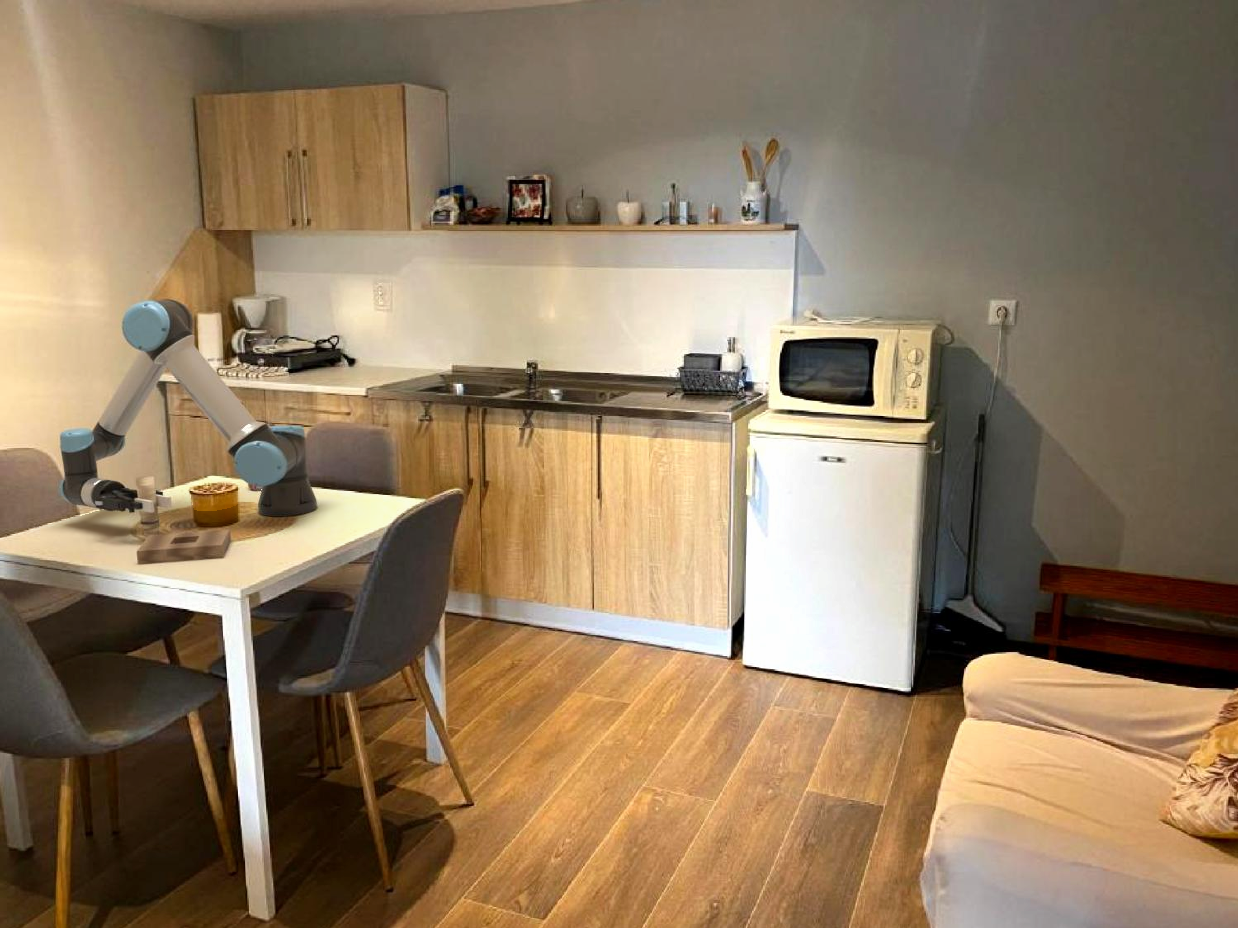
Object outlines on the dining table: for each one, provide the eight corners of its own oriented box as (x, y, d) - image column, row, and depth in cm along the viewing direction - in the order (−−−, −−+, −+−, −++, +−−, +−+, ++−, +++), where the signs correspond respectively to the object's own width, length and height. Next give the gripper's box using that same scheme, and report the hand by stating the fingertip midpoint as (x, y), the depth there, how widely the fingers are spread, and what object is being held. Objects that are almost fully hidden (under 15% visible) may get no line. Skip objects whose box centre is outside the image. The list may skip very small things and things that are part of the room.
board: (231, 541, 249) (229, 529, 248) (222, 557, 235) (221, 544, 235) (150, 547, 245) (149, 535, 244) (137, 564, 232) (136, 551, 231)
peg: (162, 531, 253) (155, 475, 251) (159, 535, 250) (152, 479, 247) (144, 532, 253) (137, 477, 250) (140, 537, 249) (133, 480, 246)
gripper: (138, 501, 267) (194, 512, 254) (73, 516, 253) (130, 528, 240) (134, 473, 265) (191, 482, 253) (69, 486, 251) (126, 496, 239)
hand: (161, 504), depth 247 cm, fingers closed on peg, 4 cm apart
